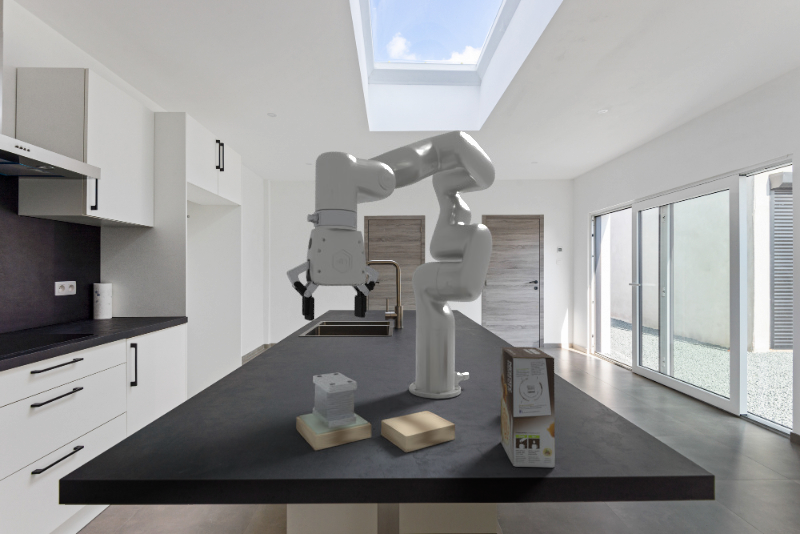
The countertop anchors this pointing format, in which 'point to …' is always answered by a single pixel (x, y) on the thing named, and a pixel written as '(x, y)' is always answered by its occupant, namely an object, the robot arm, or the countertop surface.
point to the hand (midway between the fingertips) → (335, 318)
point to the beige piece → (417, 430)
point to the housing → (334, 399)
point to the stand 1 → (331, 432)
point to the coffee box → (527, 406)
